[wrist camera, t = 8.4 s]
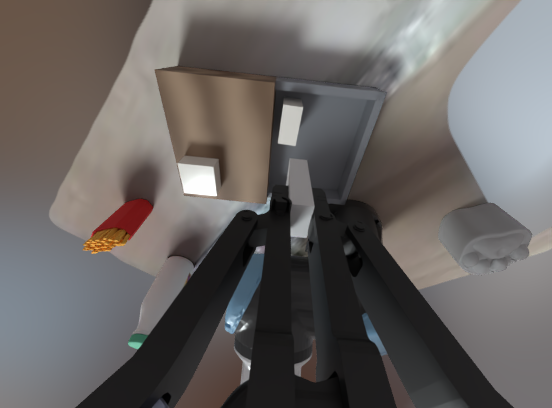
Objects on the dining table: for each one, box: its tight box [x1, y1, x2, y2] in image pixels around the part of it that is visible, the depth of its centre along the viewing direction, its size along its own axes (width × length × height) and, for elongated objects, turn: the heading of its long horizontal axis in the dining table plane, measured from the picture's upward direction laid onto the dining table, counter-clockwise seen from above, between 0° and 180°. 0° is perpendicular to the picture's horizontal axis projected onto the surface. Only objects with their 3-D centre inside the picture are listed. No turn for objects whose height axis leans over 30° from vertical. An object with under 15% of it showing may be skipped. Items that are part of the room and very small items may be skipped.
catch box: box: [267, 77, 387, 205], centre depth 32 cm, size 14×18×4 cm
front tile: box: [278, 97, 303, 146], centre depth 29 cm, size 5×5×2 cm
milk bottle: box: [128, 256, 194, 349], centre depth 49 cm, size 8×8×20 cm
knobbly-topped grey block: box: [438, 203, 532, 275], centre depth 40 cm, size 10×13×9 cm
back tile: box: [177, 156, 221, 196], centre depth 30 cm, size 5×5×2 cm
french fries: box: [83, 199, 153, 253], centre depth 40 cm, size 8×4×12 cm, turn 108°
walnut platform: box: [155, 66, 277, 204], centre depth 31 cm, size 14×18×6 cm
